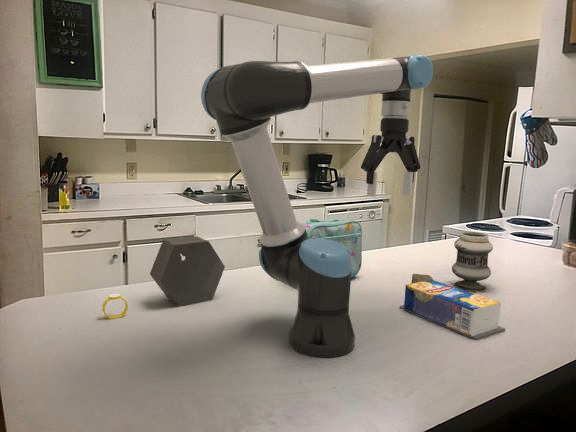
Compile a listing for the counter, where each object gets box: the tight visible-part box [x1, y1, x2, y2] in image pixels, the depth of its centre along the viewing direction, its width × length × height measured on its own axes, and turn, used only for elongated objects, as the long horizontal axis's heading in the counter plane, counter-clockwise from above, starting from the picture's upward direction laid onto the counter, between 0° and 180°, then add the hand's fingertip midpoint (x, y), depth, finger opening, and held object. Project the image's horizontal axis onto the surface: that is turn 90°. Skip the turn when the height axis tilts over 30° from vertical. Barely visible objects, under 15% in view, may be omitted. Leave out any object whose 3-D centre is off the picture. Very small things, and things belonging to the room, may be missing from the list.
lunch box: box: [300, 218, 363, 279], centre depth 159 cm, size 27×10×21 cm, turn 131°
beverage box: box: [403, 279, 502, 336], centre depth 128 cm, size 7×11×22 cm
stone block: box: [410, 273, 434, 284], centre depth 151 cm, size 6×12×5 cm, turn 178°
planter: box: [149, 235, 226, 307], centre depth 136 cm, size 17×8×21 cm
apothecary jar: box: [451, 231, 494, 293], centre depth 158 cm, size 12×12×18 cm
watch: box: [102, 293, 129, 320], centre depth 122 cm, size 6×3×6 cm, turn 120°
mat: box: [399, 304, 506, 341], centre depth 130 cm, size 12×25×1 cm, turn 33°
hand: (389, 195), depth 135 cm, fingers open, 13 cm apart
